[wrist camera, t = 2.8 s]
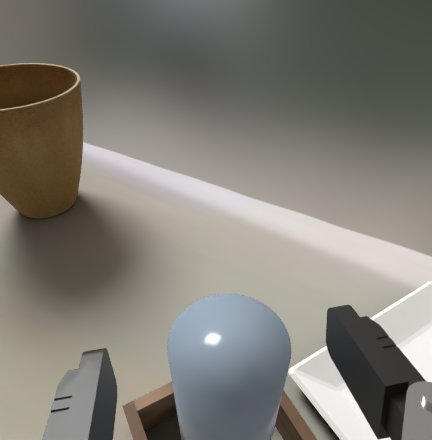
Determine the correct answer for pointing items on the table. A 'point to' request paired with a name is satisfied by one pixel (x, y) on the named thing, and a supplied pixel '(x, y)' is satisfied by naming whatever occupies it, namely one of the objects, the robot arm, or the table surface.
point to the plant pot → (40, 138)
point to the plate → (333, 382)
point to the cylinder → (228, 368)
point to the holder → (166, 407)
